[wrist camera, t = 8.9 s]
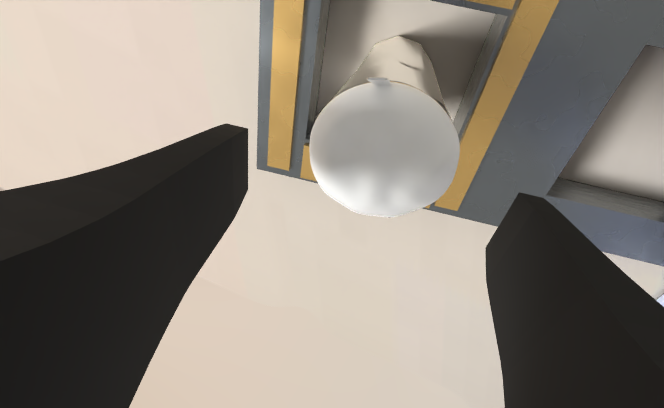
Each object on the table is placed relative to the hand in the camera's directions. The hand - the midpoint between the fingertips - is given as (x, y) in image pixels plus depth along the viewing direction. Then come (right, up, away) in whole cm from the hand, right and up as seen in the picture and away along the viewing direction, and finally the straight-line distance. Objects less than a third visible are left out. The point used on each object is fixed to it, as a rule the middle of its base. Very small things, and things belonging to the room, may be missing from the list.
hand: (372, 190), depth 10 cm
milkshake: (+2, +6, +7) cm, 10 cm away
